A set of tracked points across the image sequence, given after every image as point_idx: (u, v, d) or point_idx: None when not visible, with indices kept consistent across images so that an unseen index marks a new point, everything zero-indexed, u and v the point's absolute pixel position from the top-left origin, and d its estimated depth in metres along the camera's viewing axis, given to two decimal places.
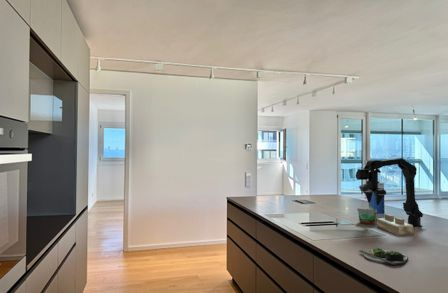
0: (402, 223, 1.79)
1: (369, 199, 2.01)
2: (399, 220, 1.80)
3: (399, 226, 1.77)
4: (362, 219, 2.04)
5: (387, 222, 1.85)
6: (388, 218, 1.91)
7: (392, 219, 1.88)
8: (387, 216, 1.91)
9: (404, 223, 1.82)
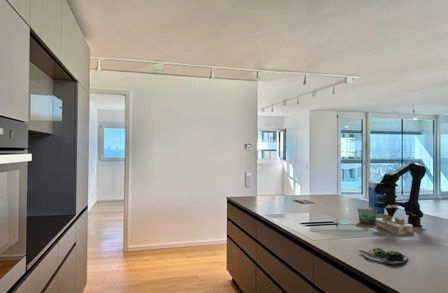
0: (402, 223, 1.79)
1: None
2: (399, 220, 1.80)
3: (399, 226, 1.77)
4: (362, 219, 2.04)
5: (387, 222, 1.85)
6: (386, 218, 1.90)
7: (390, 219, 1.88)
8: (385, 216, 1.91)
9: (404, 223, 1.82)
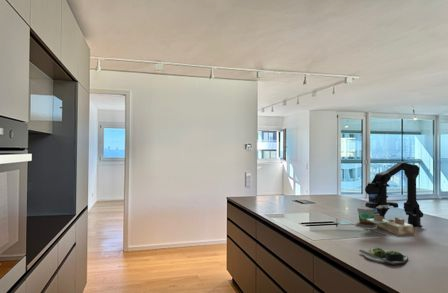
0: (402, 223, 1.79)
1: None
2: (399, 220, 1.80)
3: (399, 226, 1.77)
4: (362, 219, 2.04)
5: (387, 222, 1.85)
6: (377, 218, 1.90)
7: (381, 219, 1.88)
8: (376, 216, 1.90)
9: (404, 223, 1.82)
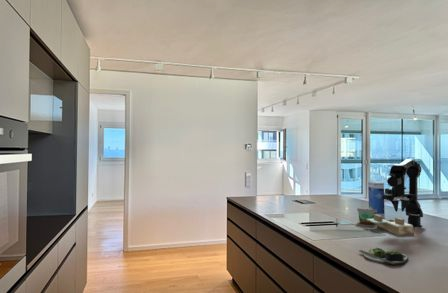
0: (402, 223, 1.79)
1: (402, 207, 1.82)
2: (399, 220, 1.80)
3: (399, 226, 1.77)
4: (362, 219, 2.04)
5: (387, 222, 1.85)
6: (377, 218, 1.90)
7: (381, 219, 1.88)
8: (376, 216, 1.90)
9: (404, 223, 1.82)
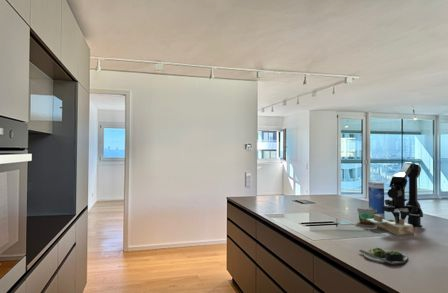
0: (402, 223, 1.79)
1: None
2: (399, 220, 1.80)
3: (399, 226, 1.77)
4: (362, 219, 2.04)
5: (387, 222, 1.85)
6: (377, 218, 1.90)
7: (381, 219, 1.88)
8: (376, 216, 1.90)
9: (404, 223, 1.82)
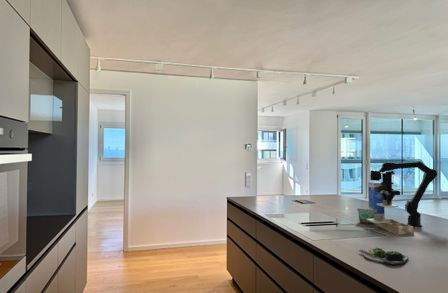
0: None
1: None
2: None
3: (397, 206, 2.02)
4: (362, 219, 2.04)
5: (385, 206, 1.99)
6: (377, 218, 1.90)
7: (381, 219, 1.88)
8: (376, 216, 1.90)
9: None
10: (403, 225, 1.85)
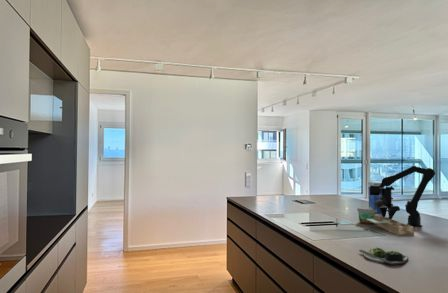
0: None
1: (384, 214, 2.10)
2: None
3: None
4: (362, 219, 2.04)
5: None
6: (377, 218, 1.90)
7: (381, 219, 1.88)
8: (376, 216, 1.90)
9: None
10: (403, 225, 1.85)
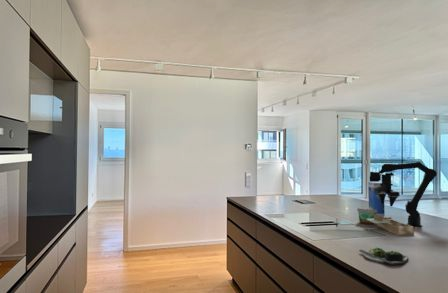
0: None
1: (382, 200, 2.11)
2: (390, 218, 2.05)
3: None
4: (362, 219, 2.04)
5: None
6: (377, 218, 1.90)
7: (381, 219, 1.88)
8: (376, 216, 1.90)
9: None
10: (403, 225, 1.85)
